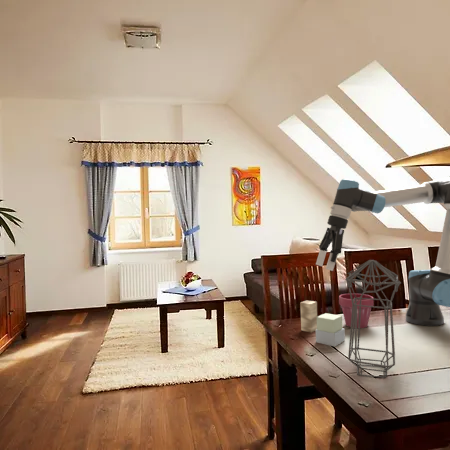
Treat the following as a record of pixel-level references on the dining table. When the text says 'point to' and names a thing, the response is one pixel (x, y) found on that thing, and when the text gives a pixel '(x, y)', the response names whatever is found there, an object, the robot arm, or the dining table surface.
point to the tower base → (330, 337)
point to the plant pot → (365, 311)
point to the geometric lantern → (354, 307)
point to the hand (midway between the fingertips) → (323, 267)
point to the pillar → (308, 316)
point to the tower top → (329, 322)
